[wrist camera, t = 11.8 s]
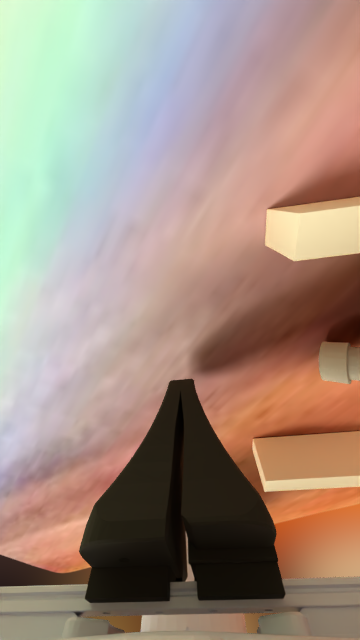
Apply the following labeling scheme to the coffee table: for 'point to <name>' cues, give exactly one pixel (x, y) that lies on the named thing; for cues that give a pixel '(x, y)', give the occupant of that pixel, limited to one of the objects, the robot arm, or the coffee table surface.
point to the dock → (316, 449)
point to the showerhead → (339, 362)
